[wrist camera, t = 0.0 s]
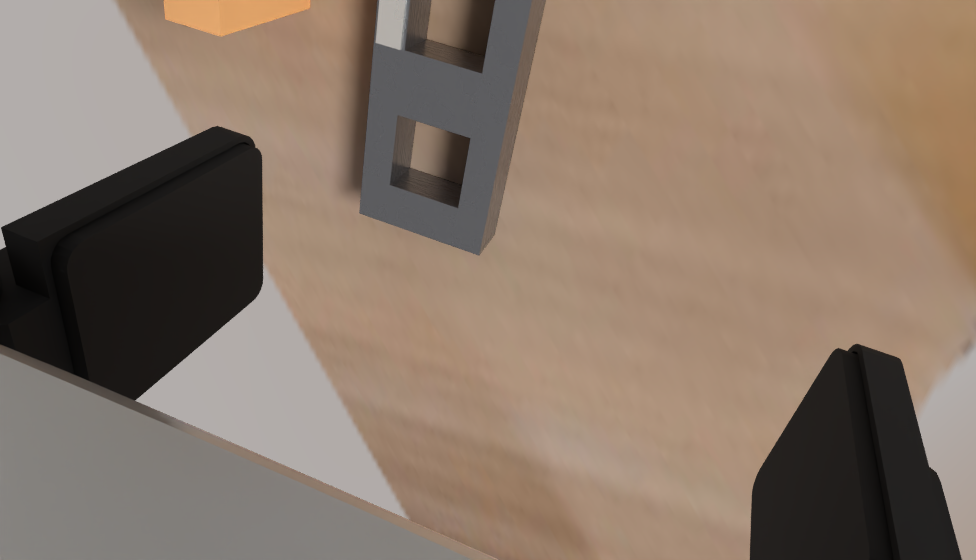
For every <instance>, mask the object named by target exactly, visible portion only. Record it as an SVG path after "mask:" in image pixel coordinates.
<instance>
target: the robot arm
mask: <svg viewBox="0 0 976 560" xmlns="http://www.w3.org/2000/svg"><path fill="white" fill-rule="evenodd" d="M1 229H2V233H3V237H4V240H5V245H6V247H5V248H3V249H1V250H0V560H498V559H496V558H494V557H492V556H489V555H487V554H485V553H483V552H480V551H478V550H476V549H474V548H471V547H469V546H467V545H465V544H462V543H460V542H458V541H456V540H453V539H451V538H449V537H447V536H444V535H442V534H440V533H438V532H435V531H433V530H431V529H429V528H426V527H424V526H422V525H419V524H417V523H415V522H413V521H410V520H408V519H406V518H403V517H401V516H399V515H397V514H394V513H392V512H390V511H387V510H385V509H383V508H380V507H378V506H376V505H374V504H371V503H369V502H367V501H364V500H362V499H360V498H358V497H355V496H353V495H351V494H348V493H346V492H344V491H342V490H339V489H337V488H335V487H333V486H330V485H328V484H326V483H323V482H321V481H319V480H316V479H314V478H312V477H310V476H307V475H305V474H303V473H301V472H298V471H296V470H294V469H291V468H289V467H287V466H284V465H282V464H280V463H278V462H275V461H273V460H271V459H268V458H266V457H264V456H261V455H259V454H257V453H254V452H252V451H250V450H248V449H245V448H243V447H241V446H239V445H236V444H234V443H232V442H229V441H227V440H225V439H222V438H220V437H218V436H216V435H213V434H211V433H209V432H206V431H204V430H202V429H199V428H197V427H195V426H192V425H190V424H188V423H185V422H183V421H181V420H178V419H176V418H174V417H171V416H169V415H167V414H164V413H162V412H160V411H157V410H155V409H152V408H150V407H148V406H146V405H143V404H141V403H139V402H136V401H135V400H136V399H137V398H139V397H140V396H141V395H142V394H143V393H144V392H146V391H147V390H148V389H149V388H150V387H152V386H153V385H154V384H155V383H156V382H158V381H159V380H160V379H161V378H162V377H164V376H165V375H166V374H167V373H168V372H169V371H171V370H172V369H173V368H174V367H175V366H177V365H178V364H179V363H180V362H181V361H182V360H183V359H185V358H186V357H187V356H188V355H189V354H190V353H192V352H193V351H194V350H195V349H197V348H198V347H199V346H200V345H201V344H203V343H204V342H205V341H206V340H207V339H208V338H210V337H211V336H212V335H213V334H214V333H216V332H217V331H218V330H219V329H220V328H221V327H223V326H224V325H225V324H226V323H227V322H229V321H230V320H231V319H232V318H233V317H234V316H236V315H237V314H238V313H239V312H240V311H241V310H243V309H244V308H245V307H246V306H247V305H248V304H250V303H251V302H252V301H253V300H254V299H255V298H256V297H257V295H258V294H259V292H260V290H261V287H262V284H263V213H262V155H261V152H260V151H259V150H258V149H257V148H255V144H254V142H253V140H252V139H251V138H250V137H249V136H246V135H243V134H240V133H237V132H234V131H231V130H228V129H225V128H223V127H219V126H216V127H212V128H210V129H208V130H205V131H203V132H201V133H199V134H197V135H195V136H193V137H191V138H189V139H187V140H184V141H182V142H180V143H178V144H176V145H174V146H172V147H170V148H168V149H165V150H163V151H161V152H159V153H157V154H155V155H153V156H151V157H149V158H147V159H145V160H142V161H140V162H138V163H136V164H134V165H132V166H130V167H127V168H125V169H123V170H121V171H119V172H117V173H115V174H113V175H111V176H109V177H107V178H105V179H102V180H100V181H98V182H96V183H94V184H92V185H90V186H88V187H85V188H83V189H81V190H79V191H77V192H75V193H73V194H71V195H68V196H67V197H64V198H62V199H60V200H58V201H56V202H54V203H52V204H49V205H47V206H46V207H43V208H41V209H39V210H37V211H35V212H33V213H31V214H28V215H27V216H24V217H22V218H20V219H18V220H16V221H14V222H12V223H10V224H8V225H5V226H3V227H1ZM750 560H962V559H961V555H960V551H959V548H958V544H957V540H956V537H955V533H954V529H953V526H952V522H951V518H950V514H949V511H948V507H947V503H946V500H945V496H944V492H943V489H942V485H941V482H940V479H939V477H938V475H937V473H936V472H935V471H934V470H933V469H931V468H930V467H929V465H928V461H927V457H926V454H925V449H924V446H923V442H922V438H921V434H920V430H919V426H918V422H917V418H916V414H915V411H914V407H913V403H912V399H911V395H910V391H909V387H908V384H907V380H906V376H905V372H904V368H903V364H902V362H901V360H900V359H899V358H897V357H895V356H892V355H889V354H886V353H883V352H880V351H877V350H874V349H871V348H868V347H865V346H862V345H859V344H855V345H853V346H852V347H851V348H850V349H849V350H848V351H845V350H843V349H840V348H838V349H835V350H834V351H833V352H832V354H831V355H830V357H829V358H828V360H827V361H826V363H825V365H824V366H823V368H822V370H821V371H820V373H819V374H818V376H817V378H816V379H815V381H814V382H813V384H812V386H811V387H810V389H809V391H808V392H807V394H806V395H805V397H804V399H803V400H802V402H801V404H800V405H799V407H798V408H797V410H796V412H795V413H794V415H793V416H792V418H791V420H790V421H789V423H788V425H787V426H786V428H785V429H784V431H783V433H782V434H781V436H780V438H779V439H778V441H777V442H776V444H775V446H774V447H773V449H772V450H771V452H770V454H769V455H768V457H767V459H766V460H765V462H764V463H763V465H762V467H761V468H760V470H759V472H758V474H757V476H756V479H755V482H754V486H753V490H752V509H751V539H750Z"/></svg>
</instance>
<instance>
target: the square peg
mask: <svg viewBox="0 0 976 560" xmlns="http://www.w3.org/2000/svg"><path fill="white" fill-rule="evenodd" d="M309 8H310V0H164V10H165V19H166V20H169V21H173V22H176V23H179V24H182V25H185V26H188V27H192V28H195V29H198V30H201V31H204V32H208V33H211V34H214V35H217V36H220V37H221V36H224V35H227V34H230V33H234V32H237V31H240V30H243V29H246V28H249V27H253V26H256V25H259V24H262V23H265V22H268V21H272V20H275V19H278V18H281V17H284V16H287V15H291V14H294V13H297V12H300V11H303V10H306V9H309Z"/></svg>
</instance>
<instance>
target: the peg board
mask: <svg viewBox="0 0 976 560" xmlns="http://www.w3.org/2000/svg"><path fill="white" fill-rule="evenodd" d="M545 1H546V0H495V4H494V10H493V15H492V21H491V27H490V32H489V38H488V44H487V49H486V55H485V57H484V56H481V55H478V54H474V53H471V52H468V51H464V50H461V49H457V48H454V47H451V46H447V45H444V44H440V43H437V42H434V41H430V40H427V39H426V38H427V30H428V22H429V14H430V7H431V0H377V12H376V24H375V36H374V47H373V59H372V71H371V83H370V94H369V106H368V118H367V130H366V141H365V153H364V165H363V177H362V189H361V200H360V212H359V213H360V214H363V215H366V216H368V217H371V218H374V219H377V220H380V221H383V222H386V223H388V224H391V225H394V226H397V227H400V228H403V229H405V230H408V231H411V232H414V233H417V234H420V235H422V236H425V237H428V238H431V239H434V240H437V241H439V242H442V243H445V244H448V245H451V246H454V247H456V248H459V249H462V250H465V251H468V252H471V253H473V254H476V255H480V254H481V252H482V251H483V250H484V248H485V247H486V246H487V244H488V243H489V242H490V240H491V239H492V238H493V236H494V235H495V230H496V225H497V221H498V216H499V212H500V207H501V202H502V198H503V193H504V189H505V184H506V180H507V175H508V170H509V166H510V161H511V157H512V152H513V147H514V143H515V138H516V134H517V129H518V125H519V120H520V115H521V111H522V106H523V102H524V97H525V93H526V88H527V83H528V79H529V74H530V70H531V65H532V60H533V56H534V51H535V47H536V42H537V38H538V33H539V28H540V24H541V19H542V15H543V10H544V6H545ZM416 121H418V122H421V123H424V124H427V125H431V126H434V127H437V128H440V129H443V130H446V131H449V132H452V133H456V134H459V135H462V136H465V137H468V138H471V139H470V144H469V150H468V156H467V161H466V167H465V172H464V178H463V184H462V185H459V184H456V183H453V182H450V181H447V180H444V179H441V178H438V177H435V176H432V175H429V174H426V173H423V172H420V171H417V170H414V169H411V168H410V163H411V155H412V148H413V140H414V132H415V124H416Z"/></svg>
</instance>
